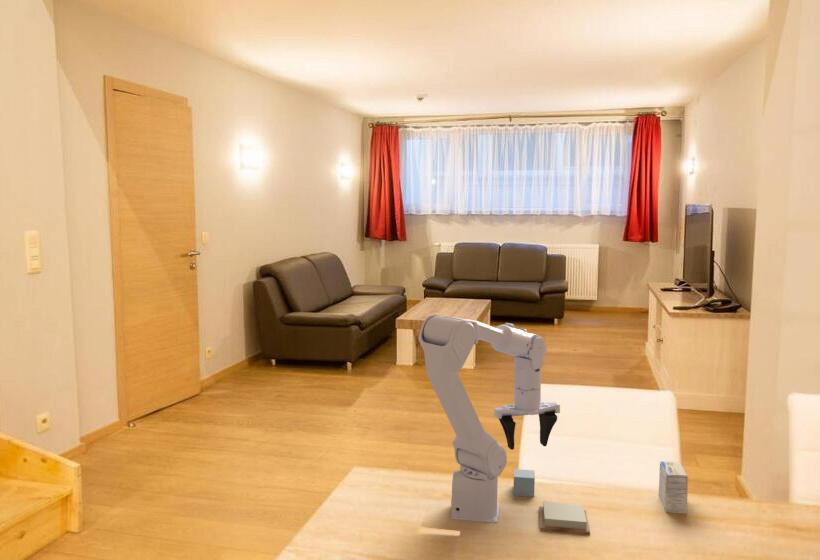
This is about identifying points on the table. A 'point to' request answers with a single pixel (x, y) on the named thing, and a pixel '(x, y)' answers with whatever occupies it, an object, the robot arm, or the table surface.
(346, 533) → the table surface
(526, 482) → the cube
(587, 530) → the tower base
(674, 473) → the medicine box
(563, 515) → the tower top
